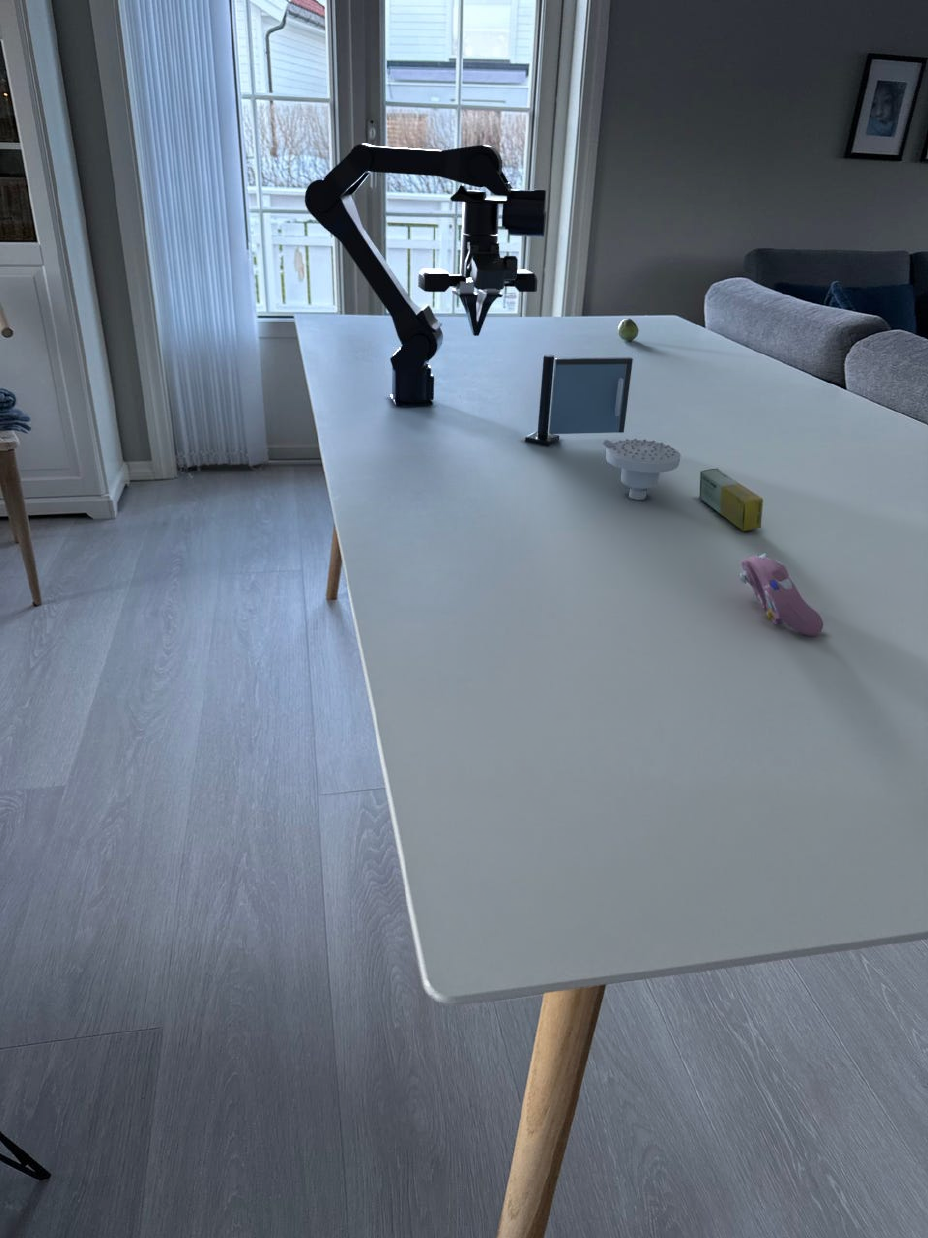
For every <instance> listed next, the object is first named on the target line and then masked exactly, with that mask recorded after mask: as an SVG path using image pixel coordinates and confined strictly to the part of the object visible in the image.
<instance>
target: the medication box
mask: <svg viewBox="0 0 928 1238" xmlns="http://www.w3.org/2000/svg"><path fill="white" fill-rule="evenodd" d="M699 476H700V477H699V500H702V501H703V502H704V503H706V504H707V505H708V506H710V507H711V508H712V509H714V510H715V511H716V512H717V513H719V514H720V515H721V516H723V517H724V518H725V519H727V520H728V521H729V522H731V524H733V525H734V526H736V527H737V528H738V529H740V530H741V531H742V532H745V531H751V530H752V531H753V530H757V529H761V528H762V518H763V506H764V505H763V503H764V499H763V498H762V497H761V496H759V495H758V494H757V493H755V492H753V491H752V490H750V489H749V488H747V487H746V486H744V485H743V484H741V483H740V482H738V481H737V480H736V479H733V478H732V477H731V476H730V475H728V474H727V473H724V472H723V471H721V470H720V469H719V468H710V469H705V470H702V471H700V473H699Z"/></svg>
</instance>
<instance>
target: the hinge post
mask: <svg viewBox="0 0 928 1238" xmlns="http://www.w3.org/2000/svg"><path fill="white" fill-rule="evenodd" d="M542 357H543V358H542V368H541V369H542V370H541V384H540V395H539V410H538V423H537V430H536V431H533V432H532V433H530V434H529V435H527V436H525V437H524V442H525V443H529V444H534V445H538V446H543V447H546V448H547V447H548V448H549V447H550V446H552V445H554V444H556V443H557V442H559V441H560V434H550V433H549V426H550V414H551V402H552V390H553V378H554V366H555V355H553V354H544V355H543V356H542Z"/></svg>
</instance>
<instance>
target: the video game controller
mask: <svg viewBox="0 0 928 1238" xmlns="http://www.w3.org/2000/svg"><path fill="white" fill-rule="evenodd" d="M741 568H742V570H743V573H742V572H740V573H739V574H740V575H739V578H740V580H741V582H742V583H743V584H745V585H747V583H748V584H749V585H750V587H751V589H752V590H753V592H754V595H755V597H756V600H757V602H758V603H759V605H760V607H761V608H762V610H767V611H766V616H767V618H768V619H770V620H772V623H774V625H779V624H782V623H785V624H786V625H787V626H788V627H790V629H792V630H794V631H796V632H797V633H799V634H801V635H804V636H808V637H814V636H815V637H816V636H818V635H819V634H820V633H821V632H822V631H823V629H824V620H823V619H822V617H821V615H820V614H819V613H818V612H817V611H816V610H815V609H814V608H813V607H811V605H809V604H808V603H807V602H806V600H804V599H803V597H802V595H801V594H800V592H799V590H798V588H797V586H796V584H794V582H793V581H792V579H791V578H790V575H789V572H788V569H787V568H786V566H785V564H782V563H781V562H779V560H775V559H773V558H770V557H768V556H767V554H766V553H765V552H764V553H762V554H761V555H753V556H751V557H749V558H746V559H743V560H741Z"/></svg>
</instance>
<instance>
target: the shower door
mask: <svg viewBox="0 0 928 1238" xmlns="http://www.w3.org/2000/svg"><path fill="white" fill-rule="evenodd" d="M633 360H634V358H633V357H631V356H630V357H628V356H626V357H624V356H623V357H619V356H618V357H616V356H615V357H554V366H553V378H552V390H551V402H550V414H549V427H548V433H549V434H554V435H572V434H614V433H616V434H617V433H619V434H620V433H621V434H622V433H623V434H624V433H625V426H626V419H627V411H628V401H629V395H630V394H629V393H630V386H631V378H632V377H631V376H632V370H633Z"/></svg>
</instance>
